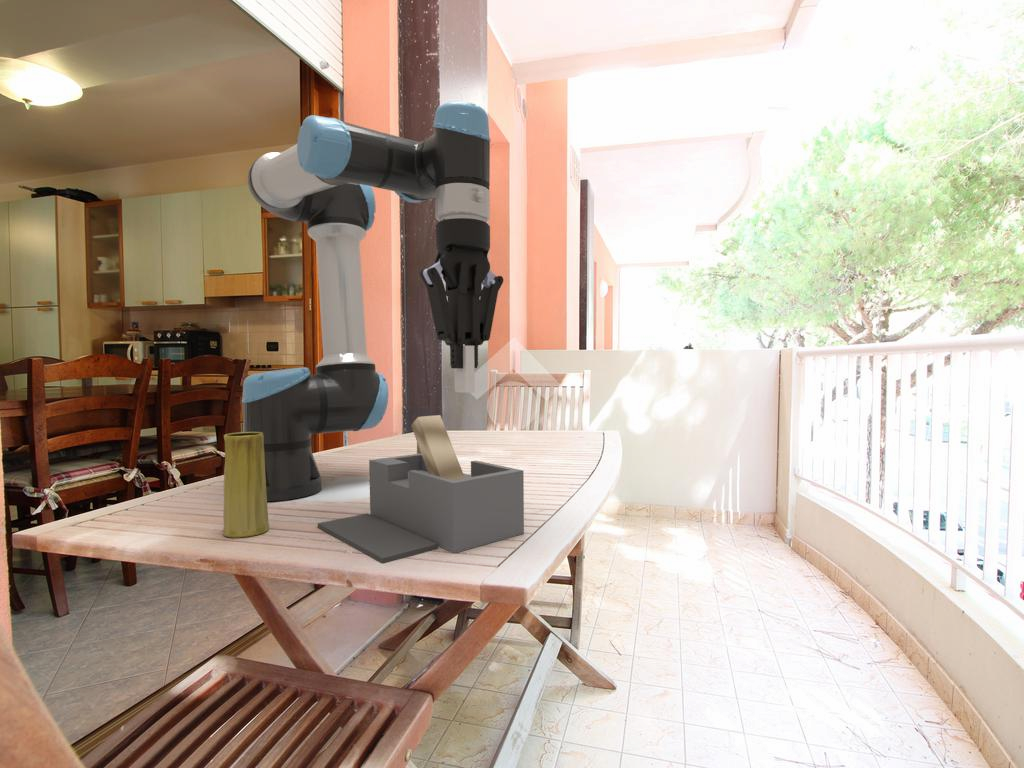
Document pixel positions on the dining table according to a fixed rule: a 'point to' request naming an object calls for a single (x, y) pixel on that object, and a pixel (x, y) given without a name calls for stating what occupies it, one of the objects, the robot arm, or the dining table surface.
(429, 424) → the birch bar
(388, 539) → the rubber mat
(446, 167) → the robot arm
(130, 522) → the dining table surface
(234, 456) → the vase
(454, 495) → the pocket block
